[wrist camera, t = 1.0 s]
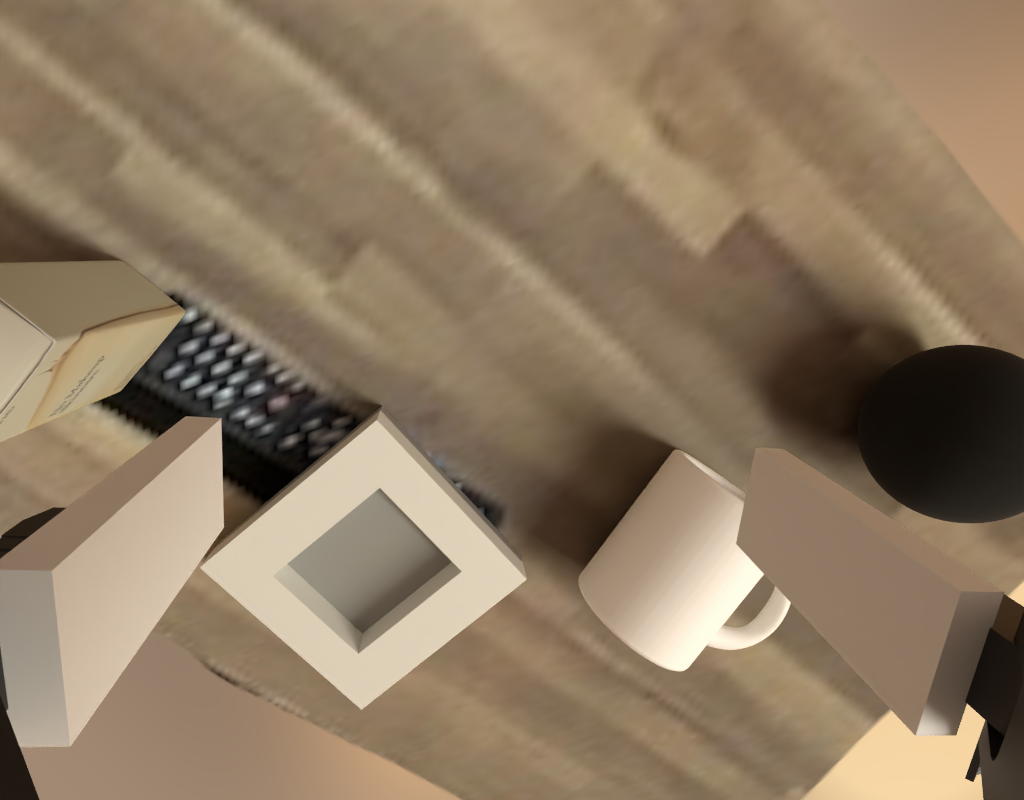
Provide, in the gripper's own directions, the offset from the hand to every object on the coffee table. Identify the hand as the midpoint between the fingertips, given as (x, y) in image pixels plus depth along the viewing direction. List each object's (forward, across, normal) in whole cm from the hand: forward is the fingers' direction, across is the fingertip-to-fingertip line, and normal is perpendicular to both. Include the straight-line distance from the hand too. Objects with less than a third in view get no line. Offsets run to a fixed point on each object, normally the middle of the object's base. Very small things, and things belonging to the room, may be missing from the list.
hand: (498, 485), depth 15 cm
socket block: (+22, -4, -14) cm, 26 cm away
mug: (+22, +15, -12) cm, 29 cm away
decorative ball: (+22, +28, -3) cm, 36 cm away
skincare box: (+22, -18, -1) cm, 29 cm away
